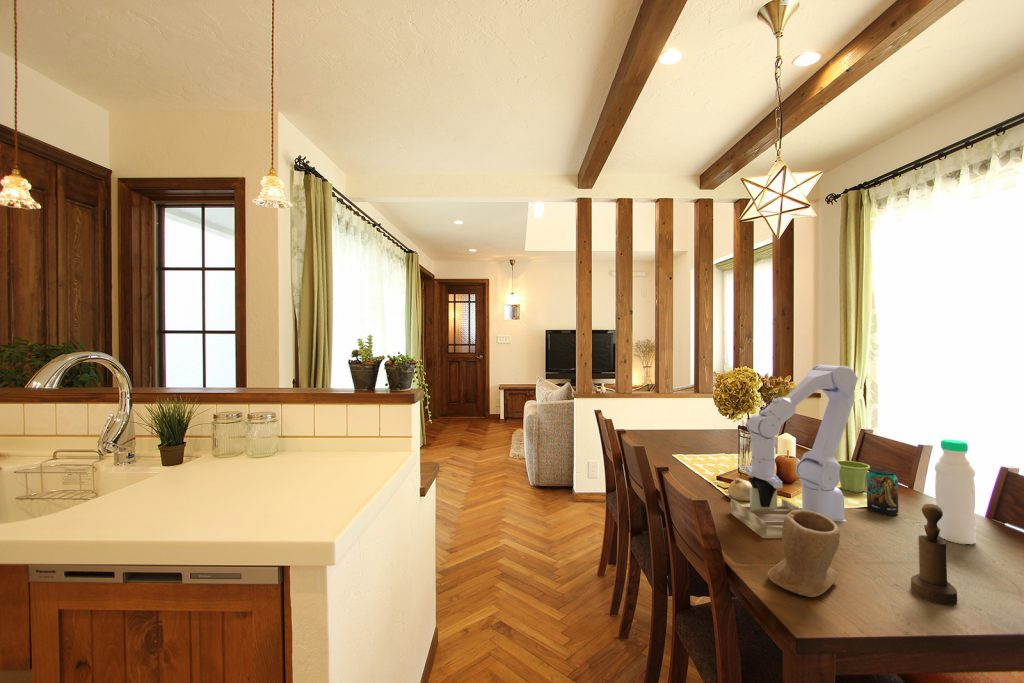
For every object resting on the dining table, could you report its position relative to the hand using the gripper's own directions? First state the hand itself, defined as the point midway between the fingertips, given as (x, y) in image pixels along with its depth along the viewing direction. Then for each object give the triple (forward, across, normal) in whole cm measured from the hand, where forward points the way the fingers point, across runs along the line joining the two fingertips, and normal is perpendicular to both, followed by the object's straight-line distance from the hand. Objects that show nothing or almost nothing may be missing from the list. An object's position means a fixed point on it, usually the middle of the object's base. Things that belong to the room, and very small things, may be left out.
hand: (763, 505), depth 122 cm
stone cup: (+4, +33, -10) cm, 35 cm away
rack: (+4, +5, 0) cm, 6 cm away
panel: (+3, 0, 0) cm, 3 cm away
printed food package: (+4, -5, +38) cm, 39 cm away
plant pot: (+4, -24, +44) cm, 50 cm away
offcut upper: (+2, +5, 0) cm, 6 cm away
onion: (+4, -15, +2) cm, 16 cm away
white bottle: (+4, +13, +41) cm, 43 cm away
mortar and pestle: (+4, +37, +12) cm, 39 cm away
